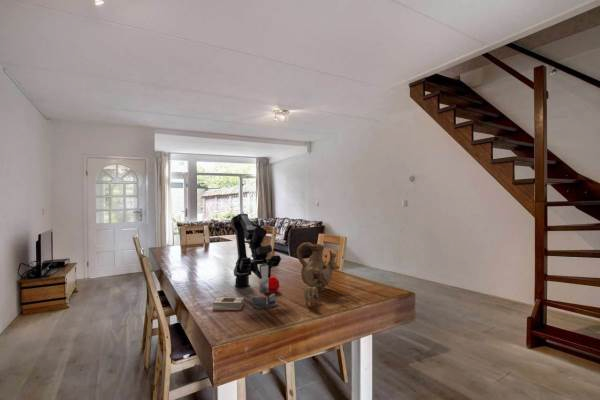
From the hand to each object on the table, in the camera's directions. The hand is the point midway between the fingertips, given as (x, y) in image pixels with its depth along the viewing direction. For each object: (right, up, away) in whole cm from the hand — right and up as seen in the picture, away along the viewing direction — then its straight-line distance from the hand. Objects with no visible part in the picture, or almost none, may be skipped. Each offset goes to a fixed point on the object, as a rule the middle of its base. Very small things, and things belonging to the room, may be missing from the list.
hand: (265, 277), depth 136 cm
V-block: (-1, -12, +1) cm, 12 cm away
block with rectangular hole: (-16, -12, -2) cm, 20 cm away
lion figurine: (+21, -12, +2) cm, 25 cm away
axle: (-1, -7, +1) cm, 7 cm away
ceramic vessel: (+25, -13, +24) cm, 37 cm away
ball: (+1, -13, +21) cm, 24 cm away
